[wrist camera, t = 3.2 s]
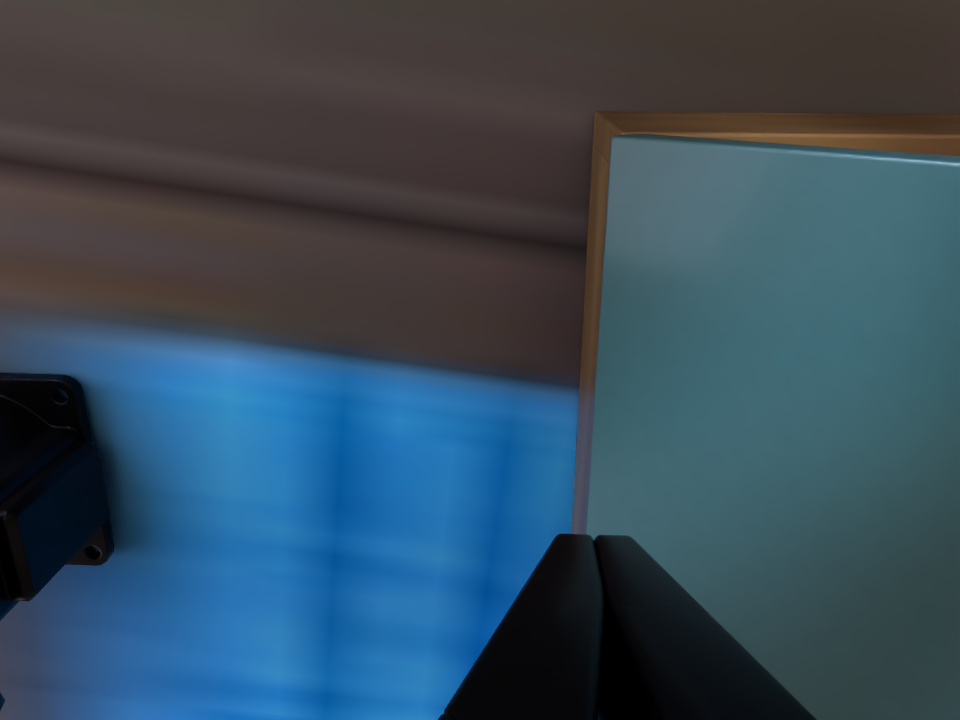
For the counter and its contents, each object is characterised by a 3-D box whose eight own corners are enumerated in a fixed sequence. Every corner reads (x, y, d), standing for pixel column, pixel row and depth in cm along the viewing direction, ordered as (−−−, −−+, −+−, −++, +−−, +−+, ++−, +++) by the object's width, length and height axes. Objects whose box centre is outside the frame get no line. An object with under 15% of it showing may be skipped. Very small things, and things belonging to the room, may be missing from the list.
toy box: (1092, 114, 18) (1345, 138, 13) (947, 632, 24) (1077, 810, 18) (593, 111, 19) (620, 131, 13) (566, 614, 25) (576, 780, 19)
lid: (2280, 250, 5) (2406, 270, 5) (1327, 1343, 11) (1332, 1412, 10) (636, 132, 13) (609, 135, 13) (587, 785, 19) (567, 806, 18)
